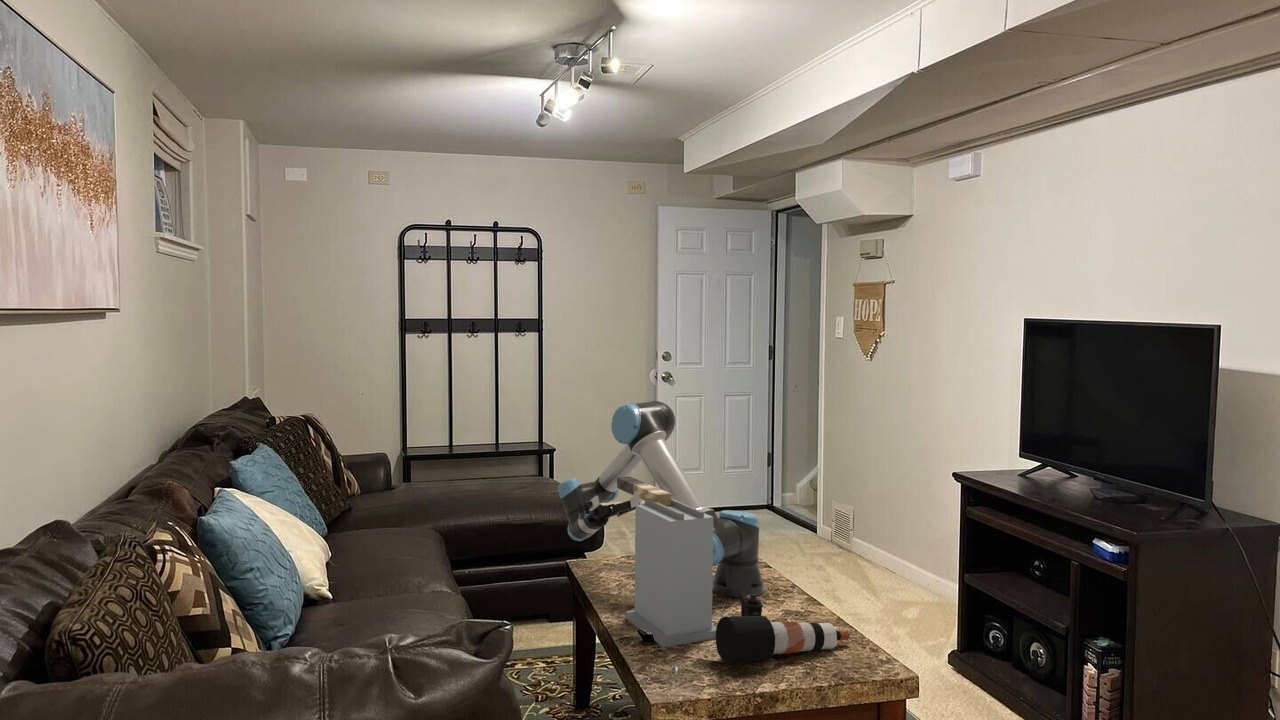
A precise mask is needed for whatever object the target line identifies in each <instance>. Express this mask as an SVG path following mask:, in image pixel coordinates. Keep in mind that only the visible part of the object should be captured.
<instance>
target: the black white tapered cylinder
mask: <svg viewBox="0 0 1280 720" xmlns="http://www.w3.org/2000/svg"><path fill="white" fill-rule="evenodd" d="M716 627H717V628H716V638H715V646H716V651H717V653H718V656H719V658H720V659H721V660H722V661H723V663H727V664H728V663H746V662H747V663H748V662H749V663H750V662H765V661H766V662H767V661H769V660H771V658H772V656H773V655H775V654H777V655H781V656H782V655H787V654H794V653H795V654H797V653H800V652H810V651H821V650H832V649H834V648H835V647H836V645H837V641H838V642H839V641H849V639H851V633H850V632H849V631H848V630H836V628H835V626H834V625H833V624H832V623H830V622H822V623H821V622H797V621H782V622H781V621H770V619H769V618H768V617H767V616H764V615H761V616H742V615H739V616H738V615H737V616H723V617H721V618H720V619H719V620H718V623H717V625H716Z"/></svg>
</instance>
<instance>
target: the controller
mask: <svg viewBox="0 0 1280 720" xmlns="http://www.w3.org/2000/svg"><path fill="white" fill-rule="evenodd" d="M758 596H759V595H757V594H756V593H752V592H740V593H739V596H738V597H737V599H738V600H739V603H740V610H741V612H740V614H741V615H740V616H762V613H763V603H762V601H761V600H760V599H757V597H758Z"/></svg>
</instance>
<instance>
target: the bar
mask: <svg viewBox="0 0 1280 720" xmlns="http://www.w3.org/2000/svg"><path fill="white" fill-rule="evenodd" d="M617 488H618V489H619V490H621V491H623V492H624V493H628V494H629V495H631V496H636V497H638V498H640V499H642V501H645V498H649V499H651V500H654V501H656V502H658V503H660V504H663V505H665V506H667V505H671V493H668V492H666V491H664V490H661V489H660V488H659V487H656V486H654V485H652V484H649V483H646V482H645V481H642V480H639V479H638V478H637V479H636V478H635V477H631V476H629V477H618V478H617Z"/></svg>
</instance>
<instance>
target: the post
mask: <svg viewBox="0 0 1280 720" xmlns="http://www.w3.org/2000/svg"><path fill="white" fill-rule="evenodd" d="M634 511H635V515H634V516H635V518H634V519H635V520H634V522H635V525H634V527H635V528H634V531H635V532H634V535H635V537H634V609H632V610H626V611H625V620H627V621H628V622H629V623H631V624H633V625H634V626H635V627H636V628H638V629H639V630H640V628H641V629H645V630H647V631H649V632H651V633H652V634H653V638H654V642H656V643H657V644H659V645H660V646H661V647H662V648H669V647H675V646H680V645H686V644H691V643H698V642H703V641H708V640H709V641H710V640H716V628H717V625H714V624H713V590H712V581H713V578H714V574H713V570H714V567H713V517H712V516H710V515H707V514H705V513H704V512H703V511H700V510H698V509H696V508H693V507H691V506H689V505H686V504H684V503H681V502H679V501H677V500H674V499H672V498H671V505H667V506H665V505H663V504H660V503H658V502H656V501H654V500H651V499H649V498H645V500H644V503H643V504H642V503H640V505H636V508H635V510H634Z"/></svg>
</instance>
